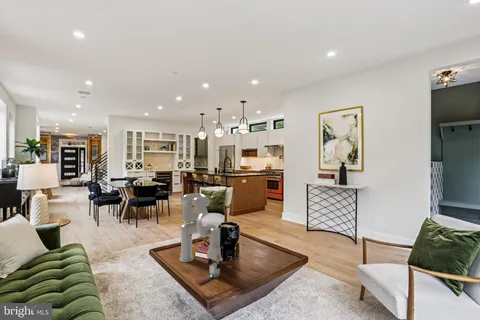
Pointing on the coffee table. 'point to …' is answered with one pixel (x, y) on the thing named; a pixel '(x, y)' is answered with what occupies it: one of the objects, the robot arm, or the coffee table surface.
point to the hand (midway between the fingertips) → (214, 266)
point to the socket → (214, 269)
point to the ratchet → (206, 278)
